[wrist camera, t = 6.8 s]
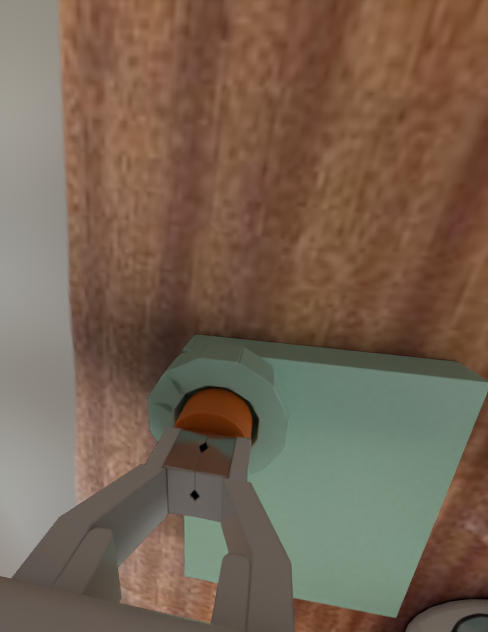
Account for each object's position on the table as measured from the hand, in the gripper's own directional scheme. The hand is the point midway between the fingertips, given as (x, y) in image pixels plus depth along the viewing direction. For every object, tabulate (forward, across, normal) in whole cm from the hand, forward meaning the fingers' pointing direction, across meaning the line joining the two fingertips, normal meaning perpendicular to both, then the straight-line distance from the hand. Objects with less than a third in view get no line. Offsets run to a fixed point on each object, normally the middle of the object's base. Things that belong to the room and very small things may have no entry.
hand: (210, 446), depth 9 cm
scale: (+5, -4, +6) cm, 9 cm away
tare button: (+2, 0, 0) cm, 2 cm away
